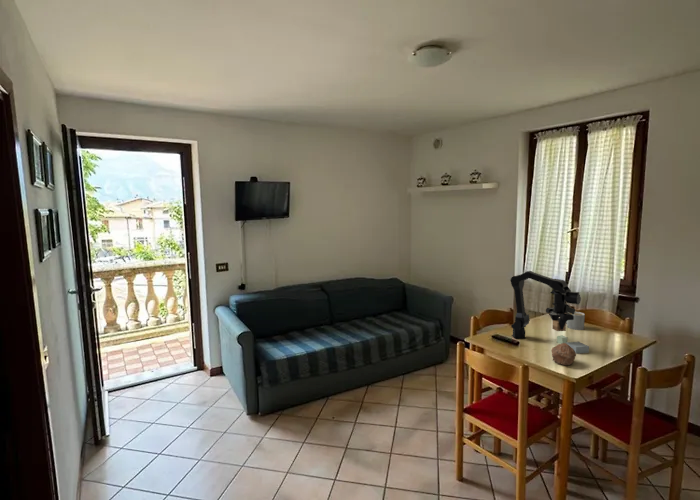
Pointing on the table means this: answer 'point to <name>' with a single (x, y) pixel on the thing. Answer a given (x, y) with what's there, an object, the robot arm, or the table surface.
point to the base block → (578, 347)
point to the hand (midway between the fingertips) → (559, 328)
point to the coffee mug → (576, 321)
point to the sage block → (562, 339)
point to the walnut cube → (557, 326)
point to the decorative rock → (563, 354)
